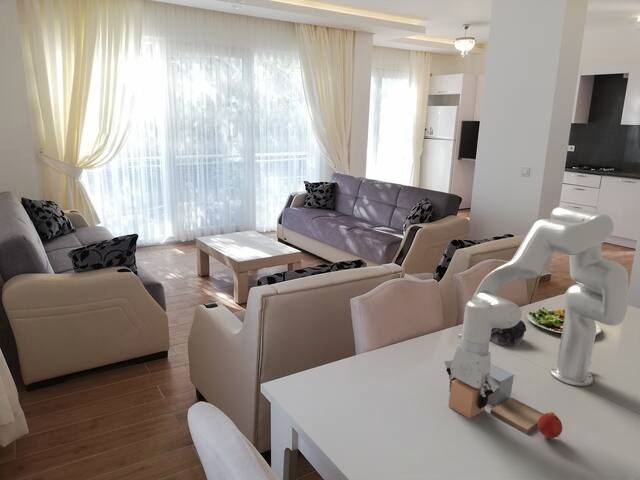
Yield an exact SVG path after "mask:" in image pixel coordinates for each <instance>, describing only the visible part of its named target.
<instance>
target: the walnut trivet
mask: <svg viewBox="0 0 640 480" xmlns="http://www.w3.org/2000/svg"><path fill="white" fill-rule="evenodd" d="M489 414H491V415H492V416H493V417H496V418H498V419H500V420H501V421H503V422H504V423H507V424H509V425H510V426H512V427H514V428H516V429H518V430H519V431H521V432H523V433H525V434H527V435H528V433H530V432H531V431H533V430H534V429H536V428H538V420H539V418H540V417H541V416H543V415H544V414H545V413H543V412H541V411H539V410H538V409H535V408H533V407H532V406H529V405H528V404H526V403H524V402H522V401H520V400H518V399H516V398H515V397H510V399H508V400H506V401H504V402H503V403H501V404H499V405H498V406H496V405H495V407H493V408H490V411H489Z"/></svg>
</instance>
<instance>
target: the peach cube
mask: <svg viewBox="0 0 640 480" xmlns="http://www.w3.org/2000/svg"><path fill="white" fill-rule="evenodd" d="M483 388H484V387H483ZM449 391H450V392H449V398H448V408H451V409H452V410H454V411H456V412H458V413H459V414H461V415H462V416H465V417H466V418H467V419H469V420H470V419H471V418H473V417H475V416H476V415H478V414H480V413H481V412H483V411H485V409H486V406H485V407H483V408H481V409H479V408H478V401H479V396H480V395H481V393H480V391H479V389H476V388H474V387H472V386H470V385H468V384H466V383H464V382H462V381H460V380H458V379H455V380H453V381H451V389H450V388H449ZM484 391H485V389H484Z"/></svg>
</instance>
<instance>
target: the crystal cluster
mask: <svg viewBox="0 0 640 480" xmlns="http://www.w3.org/2000/svg"><path fill="white" fill-rule="evenodd" d="M526 331H527V327H526V324H525V322H524V321H523V320H520V321H519V323H518V324H517V325H515V326H513V327H511V328H492V330H491V337H490V341H491V342H492V343H494V344H497V345H500V346H506V347H507V346H512V347H513V346H519V345H520V343H521V341H522V339H523V338H524V336H525V332H526Z"/></svg>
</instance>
